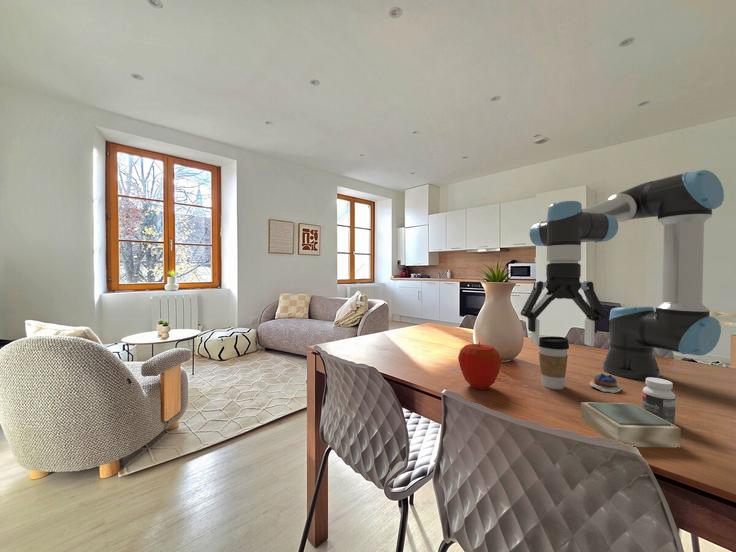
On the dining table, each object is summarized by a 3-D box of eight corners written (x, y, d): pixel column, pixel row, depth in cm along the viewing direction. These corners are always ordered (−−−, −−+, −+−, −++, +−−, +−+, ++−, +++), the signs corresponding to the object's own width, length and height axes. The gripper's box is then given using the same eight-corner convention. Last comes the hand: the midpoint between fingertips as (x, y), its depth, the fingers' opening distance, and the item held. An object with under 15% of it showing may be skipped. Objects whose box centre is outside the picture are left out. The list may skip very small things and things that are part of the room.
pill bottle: (635, 417, 76) (635, 376, 76) (657, 416, 77) (657, 376, 77) (659, 429, 70) (659, 385, 70) (682, 428, 71) (683, 384, 71)
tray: (632, 419, 75) (632, 402, 75) (680, 448, 63) (680, 426, 63) (580, 418, 75) (580, 401, 75) (618, 446, 63) (618, 425, 63)
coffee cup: (573, 392, 92) (574, 341, 92) (542, 390, 94) (542, 340, 94) (562, 382, 100) (562, 335, 100) (533, 380, 102) (533, 334, 102)
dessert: (602, 378, 100) (614, 368, 96) (618, 398, 95) (631, 388, 91) (581, 381, 98) (592, 370, 94) (596, 401, 93) (608, 391, 89)
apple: (506, 386, 96) (507, 341, 96) (491, 398, 88) (491, 348, 87) (468, 377, 105) (468, 335, 105) (451, 387, 96) (451, 341, 96)
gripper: (603, 263, 84) (601, 342, 84) (508, 262, 85) (507, 340, 85) (624, 262, 77) (623, 349, 77) (520, 261, 78) (519, 347, 78)
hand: (562, 344), depth 81 cm, fingers open, 13 cm apart
